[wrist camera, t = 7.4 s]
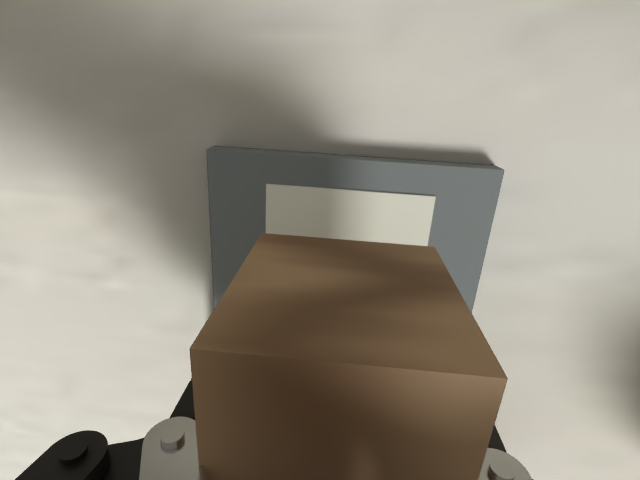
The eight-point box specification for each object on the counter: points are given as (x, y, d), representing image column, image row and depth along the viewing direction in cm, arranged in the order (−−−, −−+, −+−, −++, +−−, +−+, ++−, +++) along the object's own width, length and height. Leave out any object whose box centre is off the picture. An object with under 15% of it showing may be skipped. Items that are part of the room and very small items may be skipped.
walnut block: (434, 246, 12) (507, 378, 7) (400, 436, 15) (431, 641, 9) (261, 232, 12) (190, 348, 7) (261, 422, 15) (209, 613, 10)
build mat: (495, 165, 16) (505, 170, 15) (445, 391, 20) (450, 407, 19) (214, 146, 17) (205, 149, 16) (223, 369, 21) (217, 384, 20)
